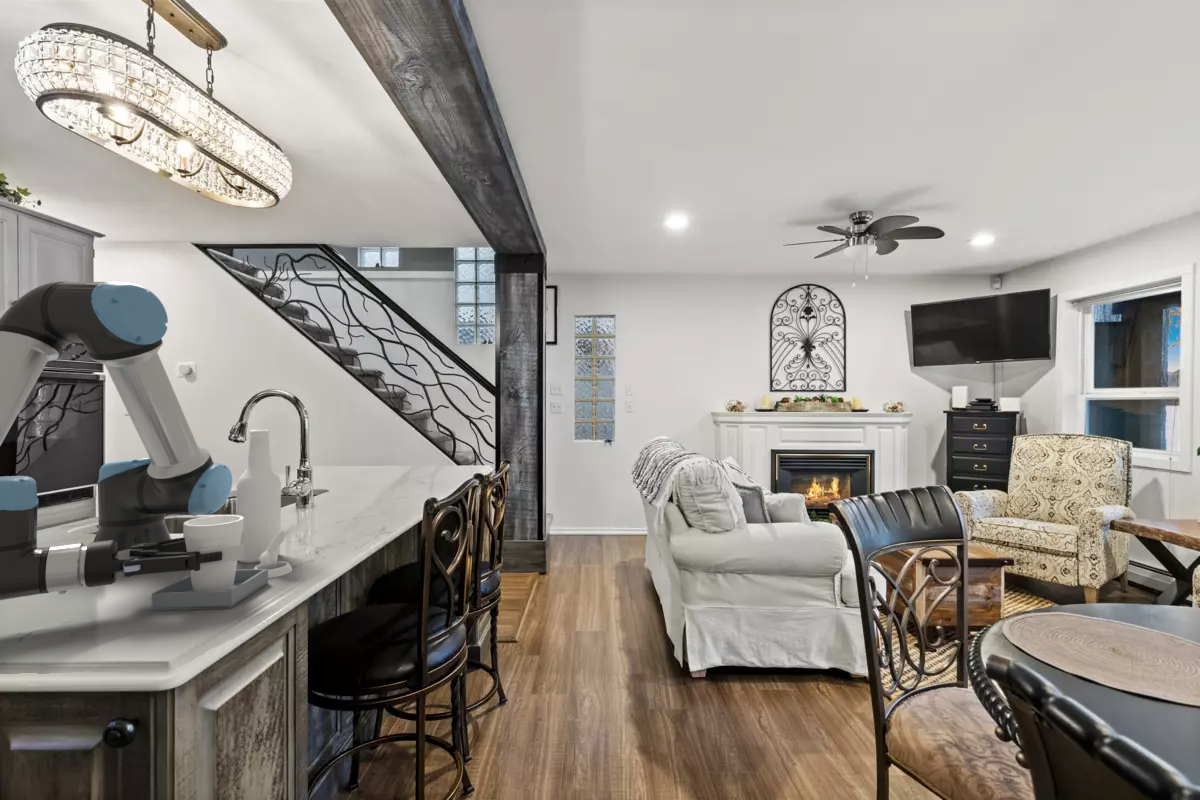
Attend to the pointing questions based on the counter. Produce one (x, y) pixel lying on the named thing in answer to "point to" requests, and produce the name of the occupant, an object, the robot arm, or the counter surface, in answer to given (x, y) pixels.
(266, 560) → the hook
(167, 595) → the tray
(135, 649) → the counter surface
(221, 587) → the foam cup
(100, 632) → the counter surface
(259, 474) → the alcohol
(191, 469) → the robot arm
